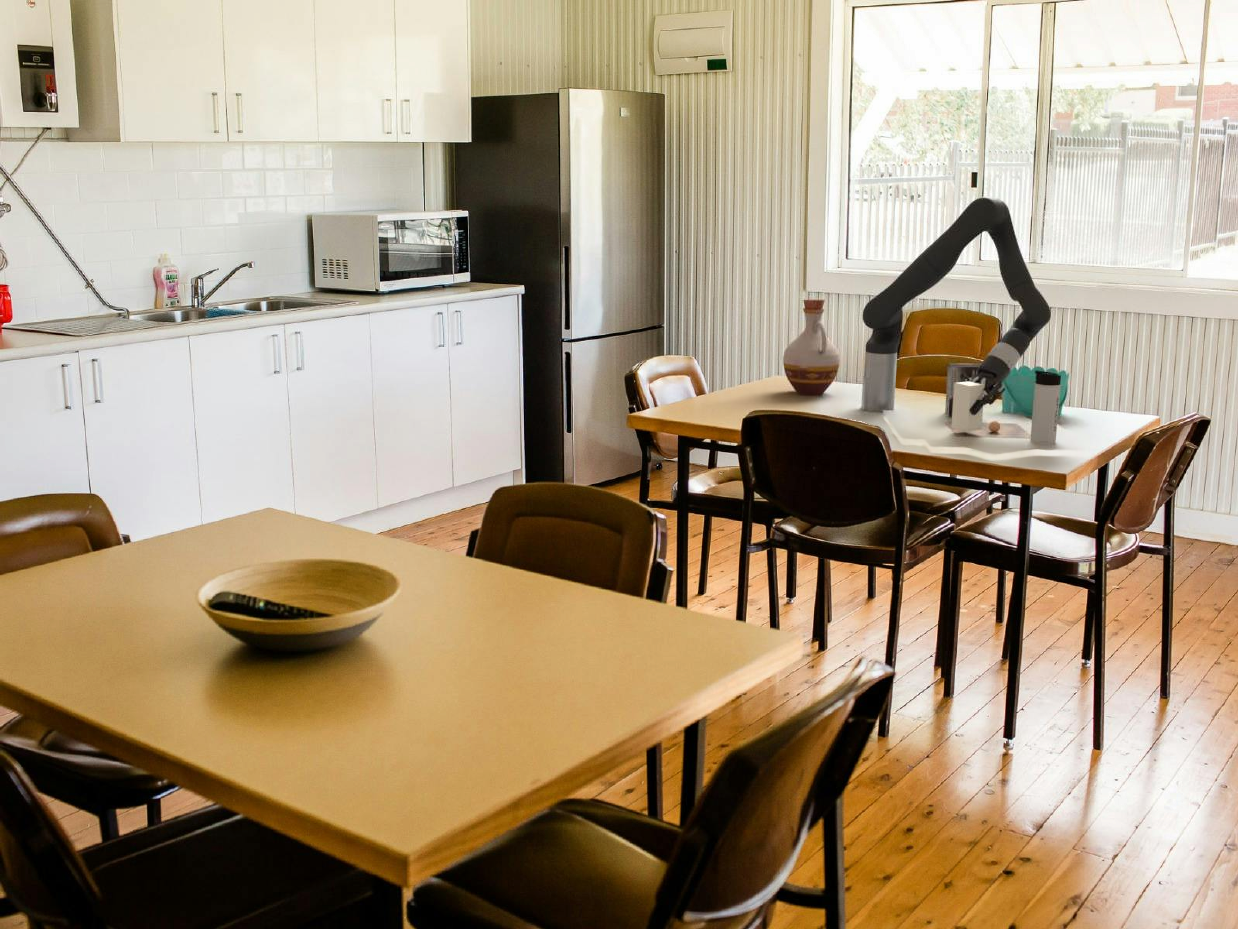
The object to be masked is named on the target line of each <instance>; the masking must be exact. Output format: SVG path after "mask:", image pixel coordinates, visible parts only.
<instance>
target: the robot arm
mask: <svg viewBox="0 0 1238 929" xmlns="http://www.w3.org/2000/svg"><path fill="white" fill-rule="evenodd" d="M984 232H985V233H986V232H987V234H988V235H989V237H990V238H991V240H992V241H993V243H994V247H995V249H996V253H997V258H998V266H999V271H1000V276H1001V279H1002V281H1003V284H1004V286H1005V288H1006V291H1007V293H1008V295H1009V297H1010V299H1011V300H1013V301H1014V302H1017V303H1018V304H1019V305H1020V307H1021V309H1022V311H1021V312H1020V313H1019V314H1018V316H1017V318H1015V320H1014V321H1013V323H1012V325H1011V326H1010V328H1009V329H1008V330H1007V331H1006V332H1005V333H1004V334H1003V336H1002V337H1001V339H1000V340H999V341H998V342H997V344H995V345H994V347H993V348H992V349H991V350H990V352H989V353H988V354H987V355H986V356H985V358H984V359H983V360H982V362H981V363H979V364H980V366H979V367H978V372H977V374H976V375H975V376H974V377H972V378H969V377H968V376H967V375H965V376H964V377H963V379H962V380H961V382H968V381H969V382H974V383H979V384H983V385H985V388H983V389H982V391H981V392H982V393H981V394H980V396H979V398H978V399H979V400H976V402H975V403H974V404H973V405H972V407H971V408H970V410H969V411H970V412H971V414H972V415H976V414H977V413H978V412H979V410H980V409H981V408H982V407H983V408H984V406H986V405H987V404H988V405H990V406H991V405H993V404H994V403H995V402H996V401H997V400H998V398H999V397H1000V396H1002V393H1003V392H1004V391H1005V387H1004V386H1003V384H1002V383H1003V381H1004V380H1005V379H1006V378H1007V376H1008V375H1009V374H1010V372H1011V371H1012V370H1013V368H1014V367H1016V366H1017V364H1018V362H1019V360H1020V359H1021V357H1022V356H1023V355H1024V354H1025V352H1026V351H1027V349H1028V348H1029V346H1030V345H1031V344H1030V343H1031V342H1032V341H1033V340H1034V338H1035V337H1036V336H1037V335H1038V334H1039V333H1040V331H1041V330H1042V329H1043V328H1044V327H1046V325H1047V324H1048V323H1049V322H1050V320H1051V317H1052V313H1051V308H1050V305H1049V303H1048V301H1047V300H1046V299H1045V297H1044V296H1043V294H1042V293H1041V292H1040V290H1038V288H1037V287H1036V285H1035V281H1034V280H1033V278H1032V275H1031V273H1030V271H1029V269H1028V266H1027V264H1026V262H1025V259H1024V257H1023V253H1022V252H1021V247H1020V245H1019V243H1018V242H1019V241H1018V239H1017V236H1016V231H1015V228H1014V224H1013V220H1012V216H1011V213H1010V209H1009V207H1008V205H1007V203H1006V202H1005V201H1004V200H1002V199H1000V198H997V197H991V196H981V197H977V198H975V199H974V200H972V201H971V202H970V203H969V204H968V205H967V207H966V208H965V209H964V210H963V211H962V213H960V215H959V216H958V217H957V218H956V219H955V220H954V222H953V223H952V224H951V225H950V226H949V228H947V230H945V231H944V232H943V233H942V234H941V235H939V237H937V238H936V239H935V240H934V241H933V242H932V243H931V244H930V245H929V246H928V247H926V248H925V250H923V252H922V253H920V254H919V255H918V256H917V257H916V258H915V259H914V260H913V261H912V262H911V264H909V265H908V267H906V268H905V269H904V271H902V272H901V274H900V275H898V276H897V278H896V279H894V281H893V282H892V283H890V284H889V286H887V287H886V288H885V289H883V290H882V291H881V292H880V293H878V294H877V295H876V296H874V297H873V298H872V299H870V300H869V301H868V302H867V303H866V304H865V306H864V309H862V310H863V311H862V320H863V323H864V325H865V326H866V327H867V328H869V329H871V330H872V333H871V336H870V338H868V340H867V341H866V344H865V354H864V356H865V357H864V371H863V377H862V388H861V409H862V410H863V411H869V412H881V413H882V412H884V411H891V412H893V411H894V410H895V399H896V398H895V397H896V396H895V394H896V379H897V378H896V376H897V364H898V363H897V362H898V348H899V345H900V342H901V337H902V331H903V320H904V319H903V318H904V314H903V313H904V312H903V307H904V306H906V305H907V304H908V303H910V302H911V301H912V300H914V299H915V298H917V297H919V296H920V295H922V294H924V293H925V292H926V291H929V290H930V289H932V288H933V287H934V286H936V285H937V284H938V283H939V282H940V281H942V280H943V279H944V277H946V276H947V275H948V274H949V273H950V272H951V271H952V270H953V269H954V267H955V265H956V264H957V262H958V261H959V258H960V257H961V255H962V252H963V251H964V250H965V248H966V247H967V246H968V245H969V244H970V243H971V242H972V241H973V240H974V239H976V238H977V237H978V236H979V235H981V234H982V233H984ZM952 408H953V403H952Z"/></svg>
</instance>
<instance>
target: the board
mask: <svg viewBox="0 0 1238 929" xmlns="http://www.w3.org/2000/svg"><path fill="white" fill-rule="evenodd" d="M943 422H944V424H945V425H946V426H947V427H948V428H949V429H950V430H951V431H952V432H953V434H954V435H955V436H956V437H958V438H959V437H961V438H962V437H964V438H967V437H968V438H997V439H998V438H999V439H1001V438H1003V439H1030V438H1031V433H1029V432H1028V431H1027V430H1025V428H1023V427H1022V426H1021V425H1020V424H1019V423H1007V422H998V423H999V424H1000V429H999V431H997V432H992V431H990V430H989V424H990V423H991V422H982V430H974V431H964V430H960V429H956V428H952V427H951V425H952V421H943Z"/></svg>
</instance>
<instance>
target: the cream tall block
mask: <svg viewBox="0 0 1238 929" xmlns="http://www.w3.org/2000/svg"><path fill="white" fill-rule="evenodd" d="M983 388H985V385H983V384H979V383H974V382H969V381H968V382H957V383H954V396H953V411H952V417H951V422H952V425H951V427H952V428H956V429H960V430H964V431H974V430H982V423H983V416H984V415H983V412H984V406H983V407H982V408H981V409H980V410H979V412H978V413H977V414H976V415H972V414H971V412H970V411H969V410H970V408H971V407H972V405H973V404H974V403H975V402H976V400H979V399H978V398H979V396H980V394H981V393H982V392H981V391H982V389H983Z"/></svg>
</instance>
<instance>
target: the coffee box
mask: <svg viewBox="0 0 1238 929" xmlns="http://www.w3.org/2000/svg"><path fill="white" fill-rule="evenodd" d="M980 364H981V363H973V362H972V363H969V362H968V363H965V362H962V363H959V362H958V363H957V362H954V363H953V362H952V363H951V362H948V363H947V377H946V391H945V393H946V395H945V408H944V414H945V415H946V416H947V417H948V418H952V411H953V408H952V403H953V396H954V383H957V382H961V380H962V379H963V377H964V376H965V375H967V376H968V377H969V378H972V377H974V376H975V375H976V374H977V372H978V367H979V366H980Z"/></svg>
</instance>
